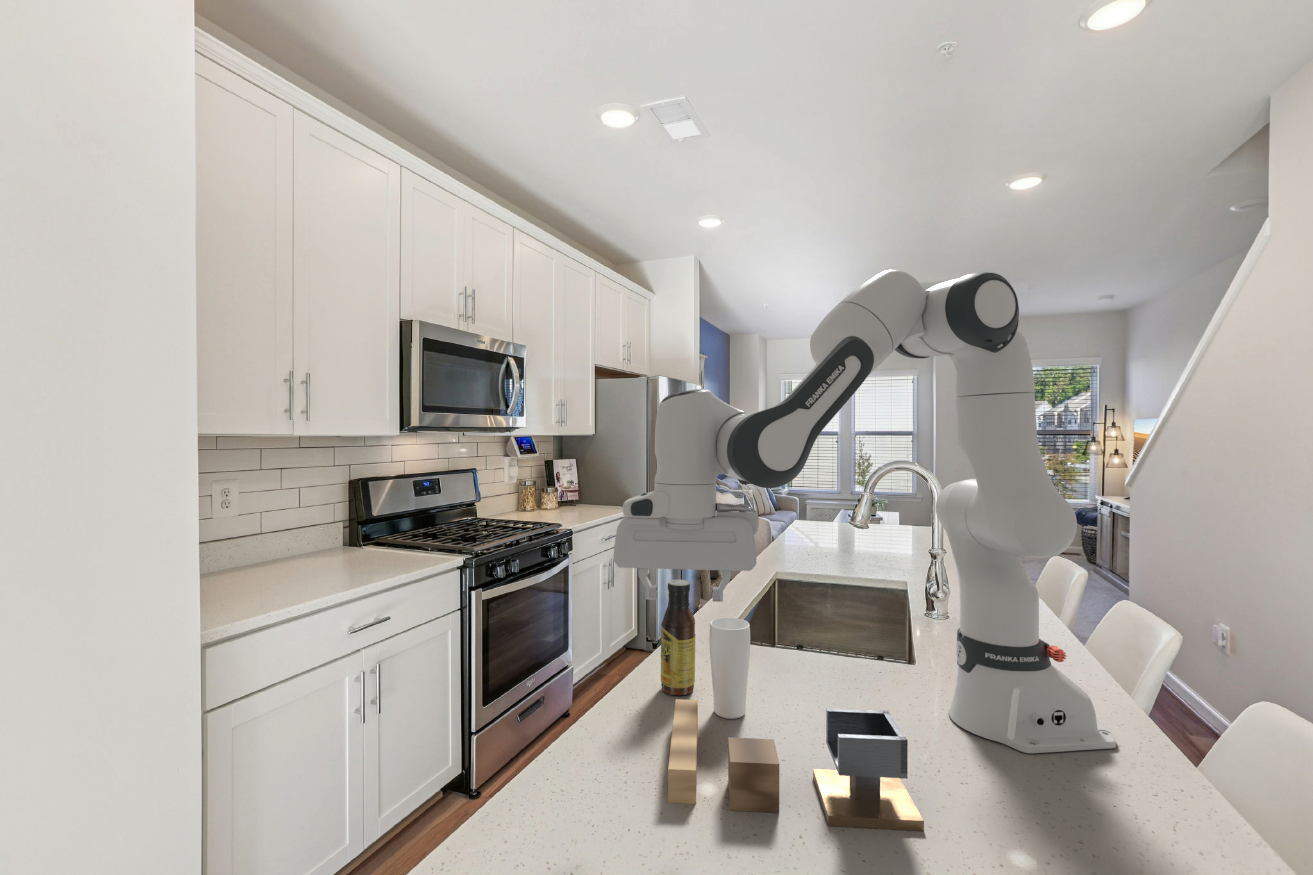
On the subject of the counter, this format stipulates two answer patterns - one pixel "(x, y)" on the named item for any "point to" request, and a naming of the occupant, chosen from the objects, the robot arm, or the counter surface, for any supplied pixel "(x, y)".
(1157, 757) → the counter surface
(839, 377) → the robot arm
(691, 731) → the oak rail
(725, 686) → the drinking glass
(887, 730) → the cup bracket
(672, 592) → the sauce bottle
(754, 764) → the walnut block
